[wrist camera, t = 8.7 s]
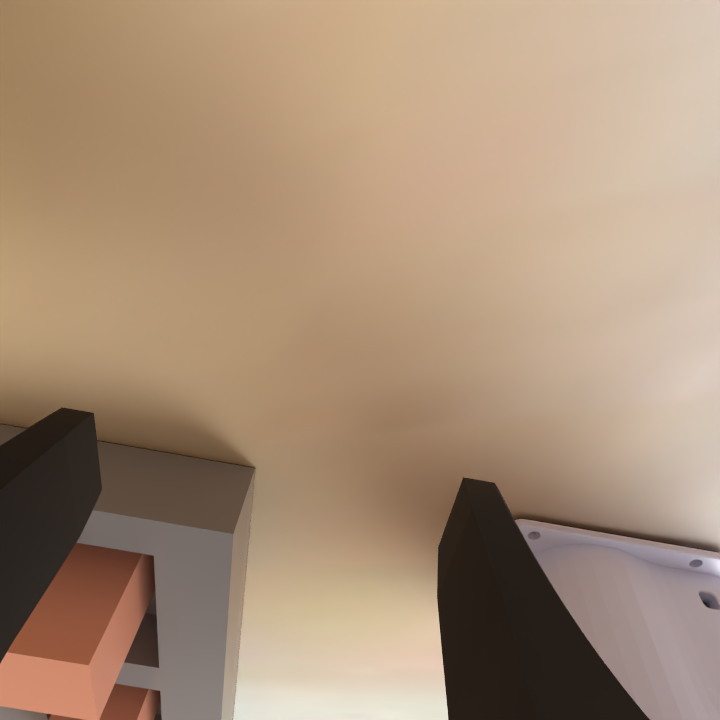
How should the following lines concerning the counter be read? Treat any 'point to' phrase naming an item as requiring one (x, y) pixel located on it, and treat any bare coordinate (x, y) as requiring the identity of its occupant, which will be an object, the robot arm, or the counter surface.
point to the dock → (173, 579)
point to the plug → (79, 634)
